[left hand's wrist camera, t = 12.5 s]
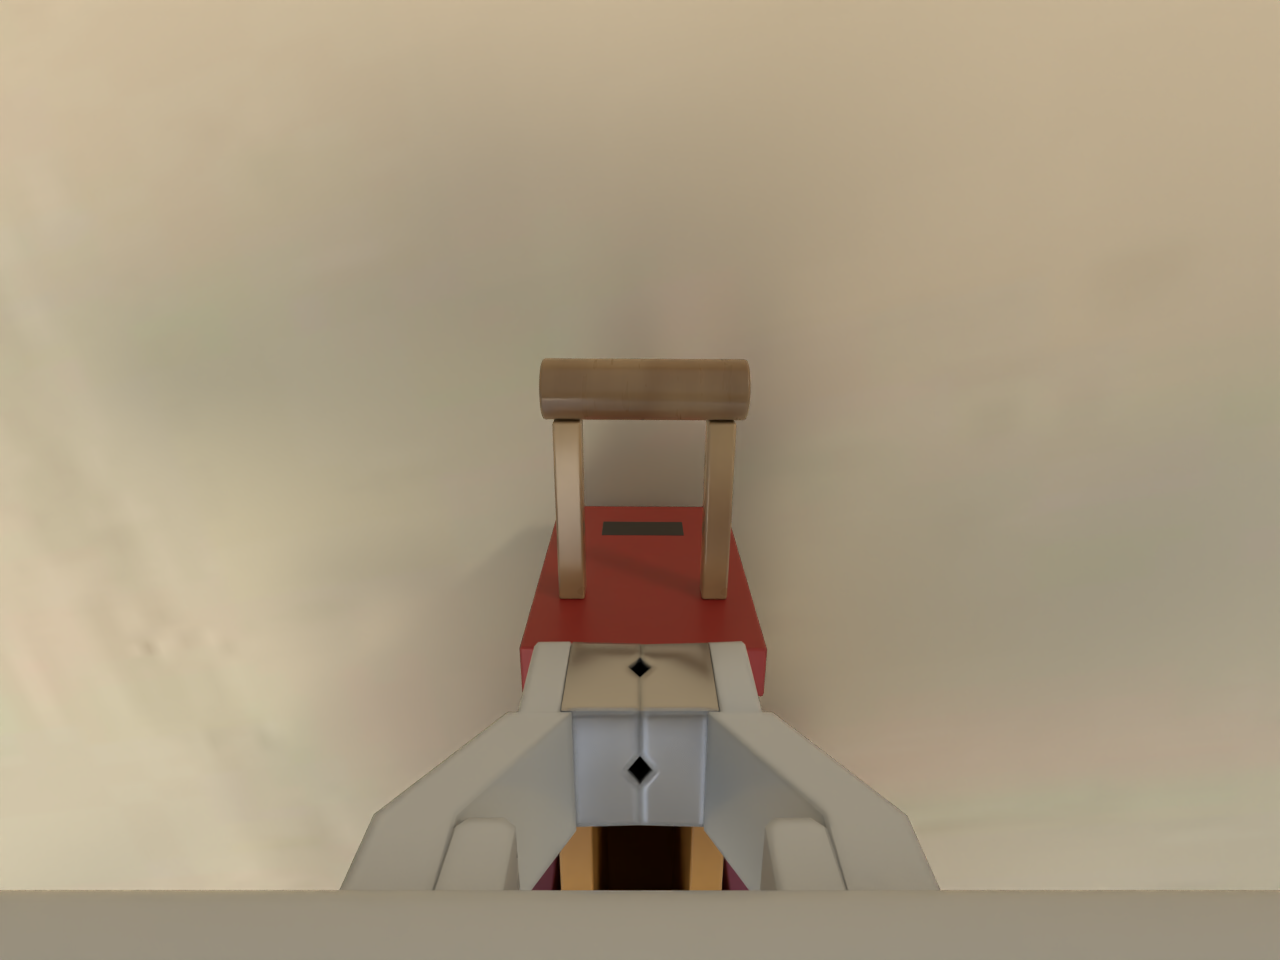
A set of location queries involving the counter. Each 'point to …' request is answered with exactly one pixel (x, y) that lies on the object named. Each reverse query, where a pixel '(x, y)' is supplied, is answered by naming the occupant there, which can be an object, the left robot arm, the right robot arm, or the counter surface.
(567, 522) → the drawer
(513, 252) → the counter surface
